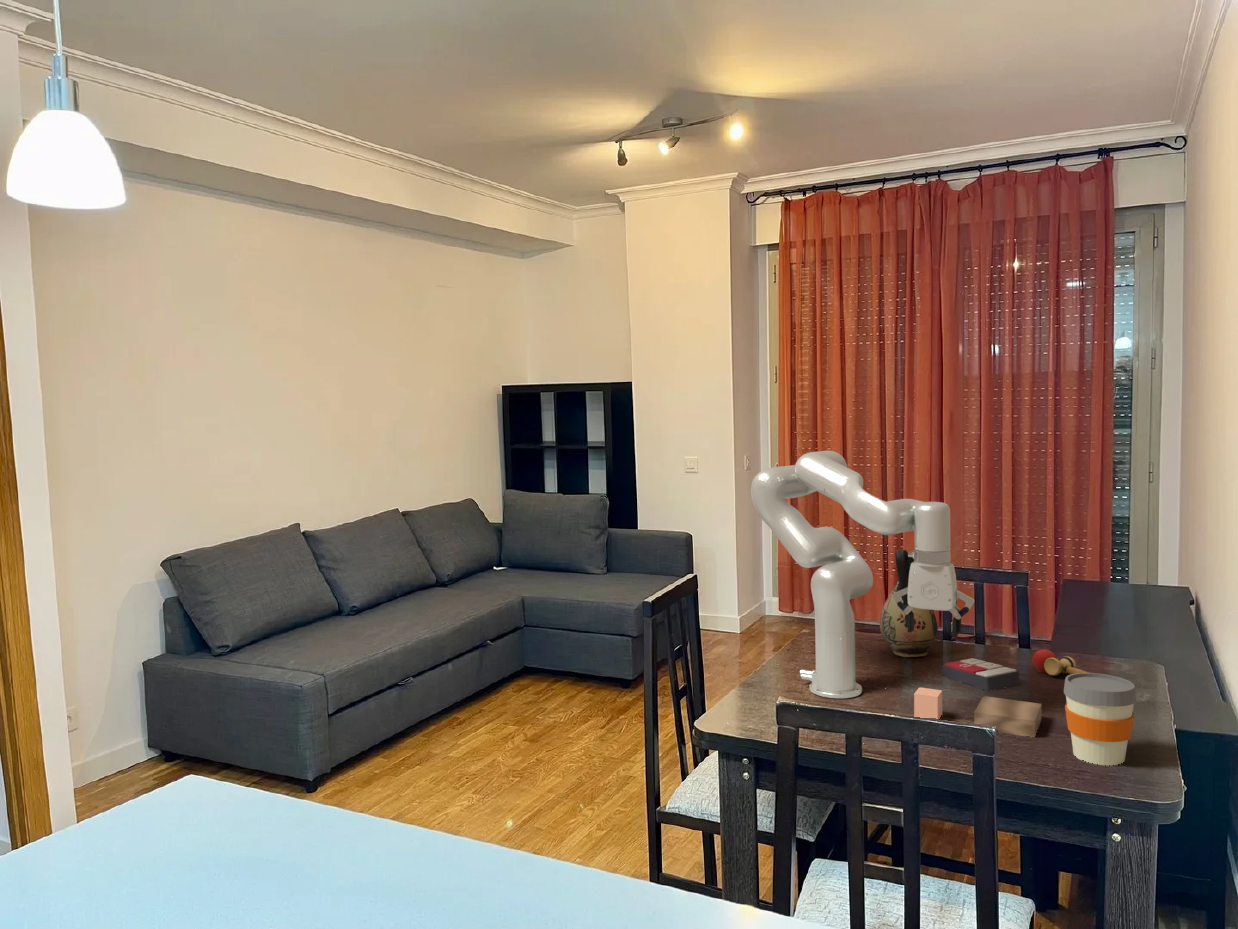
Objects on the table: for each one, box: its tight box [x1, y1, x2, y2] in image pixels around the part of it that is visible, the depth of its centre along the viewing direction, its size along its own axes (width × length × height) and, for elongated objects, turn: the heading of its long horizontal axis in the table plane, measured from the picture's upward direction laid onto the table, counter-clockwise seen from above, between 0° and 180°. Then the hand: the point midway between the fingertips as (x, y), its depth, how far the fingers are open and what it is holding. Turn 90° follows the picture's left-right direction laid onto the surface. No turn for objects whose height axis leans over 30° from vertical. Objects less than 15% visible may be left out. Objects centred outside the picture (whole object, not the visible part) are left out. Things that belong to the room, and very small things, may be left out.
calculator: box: [941, 657, 1020, 692], centre depth 225 cm, size 11×4×15 cm
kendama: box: [1031, 648, 1090, 677], centre depth 225 cm, size 8×6×18 cm
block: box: [913, 687, 943, 720], centre depth 199 cm, size 5×5×6 cm
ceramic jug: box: [879, 548, 939, 658], centre depth 249 cm, size 17×15×30 cm
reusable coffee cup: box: [1063, 672, 1137, 767], centre depth 175 cm, size 13×13×15 cm
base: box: [973, 695, 1043, 738], centre depth 195 cm, size 12×12×4 cm
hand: (933, 633), depth 199 cm, fingers open, 9 cm apart
